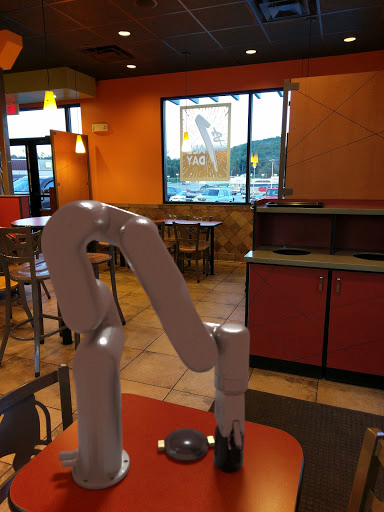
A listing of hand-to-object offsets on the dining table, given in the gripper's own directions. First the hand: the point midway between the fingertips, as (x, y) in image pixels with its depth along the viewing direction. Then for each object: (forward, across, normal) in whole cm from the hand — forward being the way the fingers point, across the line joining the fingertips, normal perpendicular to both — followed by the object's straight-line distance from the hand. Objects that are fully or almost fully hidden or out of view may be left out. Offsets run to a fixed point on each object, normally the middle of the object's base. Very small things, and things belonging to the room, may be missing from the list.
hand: (228, 450), depth 83 cm
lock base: (+3, -7, -9) cm, 12 cm away
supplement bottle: (+3, 0, 0) cm, 3 cm away
